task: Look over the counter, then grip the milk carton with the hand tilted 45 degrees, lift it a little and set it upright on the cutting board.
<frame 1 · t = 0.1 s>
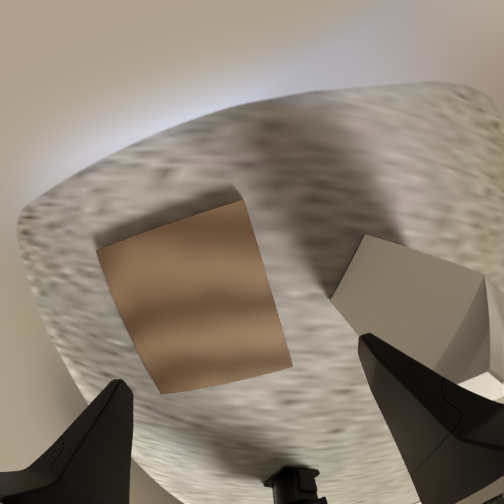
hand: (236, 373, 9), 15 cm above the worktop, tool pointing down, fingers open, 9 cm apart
milk carton: (373, 281, 25), on the worktop
cutting board: (196, 307, 24), on the worktop
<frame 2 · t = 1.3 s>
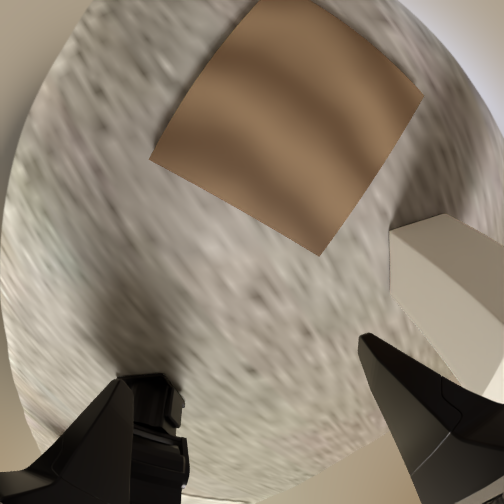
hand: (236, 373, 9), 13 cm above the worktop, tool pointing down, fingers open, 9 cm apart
milk carton: (416, 253, 23), on the worktop
cutting board: (298, 112, 17), on the worktop
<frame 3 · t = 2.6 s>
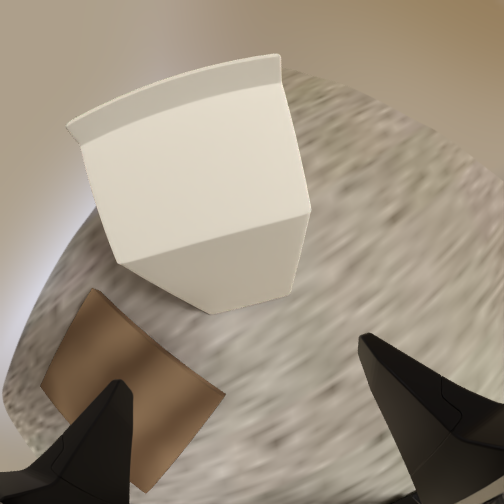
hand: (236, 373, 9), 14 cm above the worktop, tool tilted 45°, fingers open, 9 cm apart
milk carton: (240, 268, 25), on the worktop
cutting board: (118, 394, 21), on the worktop
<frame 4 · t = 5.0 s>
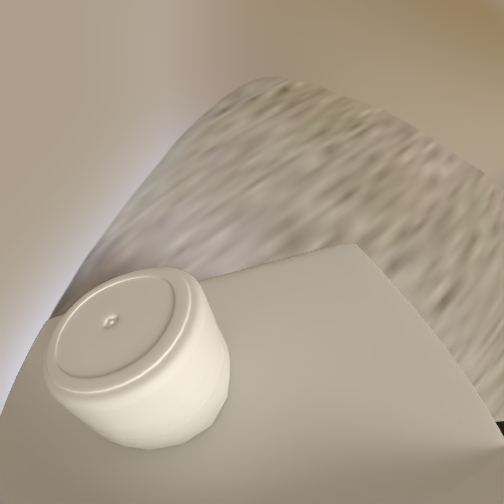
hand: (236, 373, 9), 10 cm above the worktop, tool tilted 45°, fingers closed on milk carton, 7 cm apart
milk carton: (261, 378, 18), on the worktop, touching gripper
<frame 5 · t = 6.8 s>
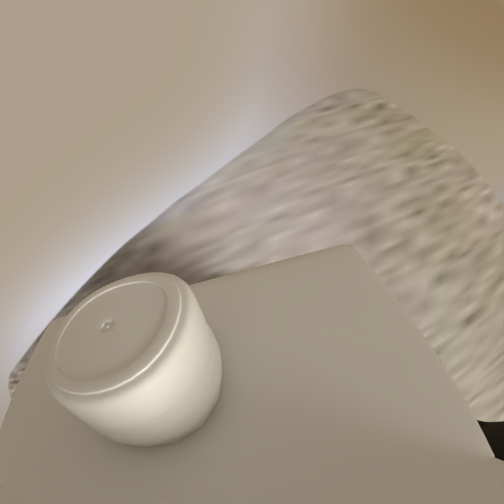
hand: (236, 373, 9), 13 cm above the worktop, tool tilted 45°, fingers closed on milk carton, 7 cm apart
milk carton: (266, 375, 18), point 3 cm above the worktop, touching gripper
when the fingers open (13 cm above the worktop, at t = 8.5 s): milk carton drops 1 cm, resting on cutting board.
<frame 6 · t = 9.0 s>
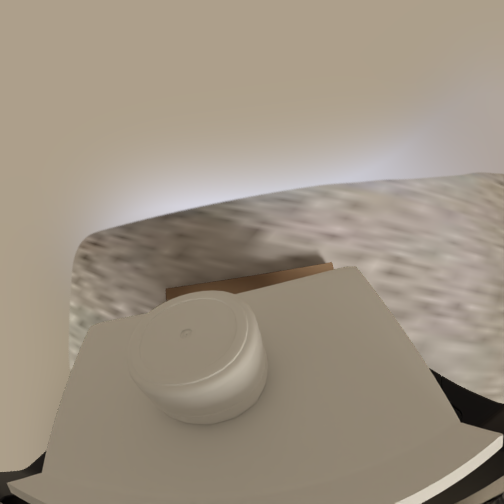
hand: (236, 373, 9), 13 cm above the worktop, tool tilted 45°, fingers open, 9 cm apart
milk carton: (266, 375, 19), point 1 cm above the worktop, touching cutting board
cutting board: (262, 374, 21), on the worktop
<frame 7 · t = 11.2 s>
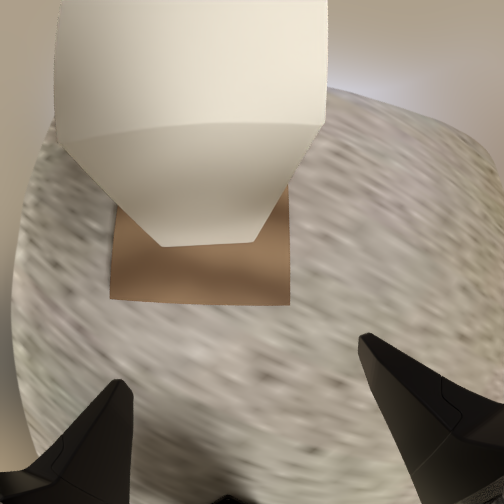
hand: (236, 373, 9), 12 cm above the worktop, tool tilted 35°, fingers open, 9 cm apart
milk carton: (205, 201, 21), point 1 cm above the worktop, touching cutting board
cutting board: (202, 206, 23), on the worktop
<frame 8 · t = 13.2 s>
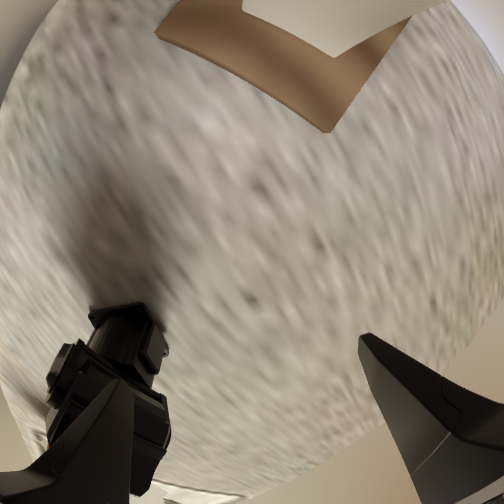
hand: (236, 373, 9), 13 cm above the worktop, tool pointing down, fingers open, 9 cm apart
milk carton: (309, 3, 12), point 1 cm above the worktop, touching cutting board
cutting board: (300, 7, 13), on the worktop
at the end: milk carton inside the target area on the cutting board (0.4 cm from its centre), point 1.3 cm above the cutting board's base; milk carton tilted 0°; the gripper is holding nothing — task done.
